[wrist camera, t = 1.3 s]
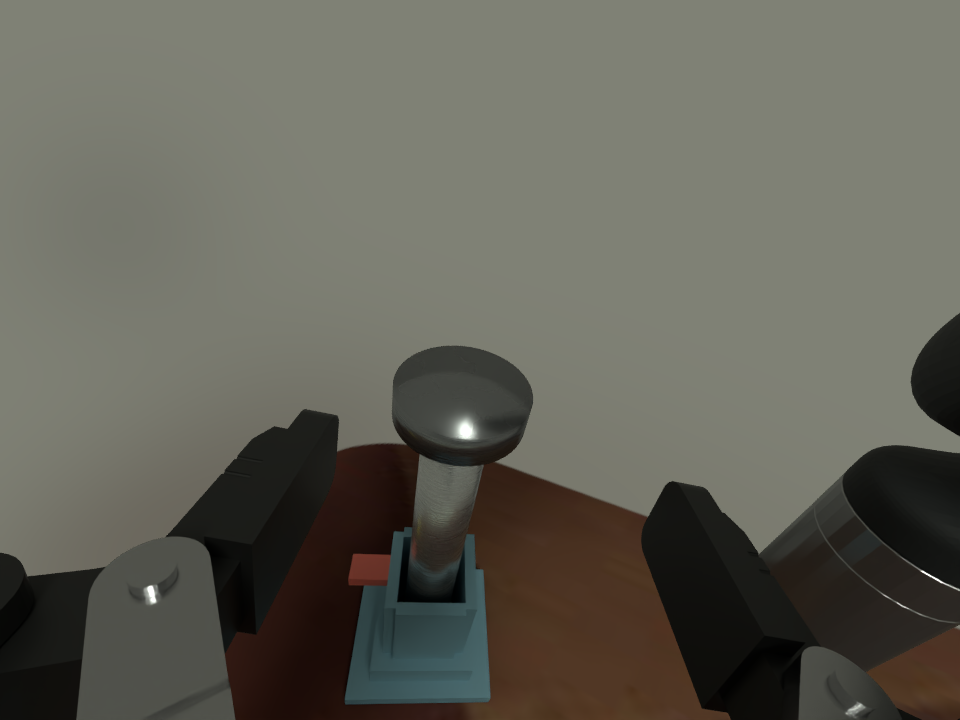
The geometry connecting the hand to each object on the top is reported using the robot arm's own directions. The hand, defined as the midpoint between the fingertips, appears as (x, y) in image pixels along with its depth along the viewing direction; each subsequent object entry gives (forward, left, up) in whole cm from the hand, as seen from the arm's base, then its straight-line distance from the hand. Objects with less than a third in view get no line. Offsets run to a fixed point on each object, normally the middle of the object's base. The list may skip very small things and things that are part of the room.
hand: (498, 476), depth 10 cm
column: (0, -7, -28) cm, 29 cm away
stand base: (0, -7, -29) cm, 30 cm away
